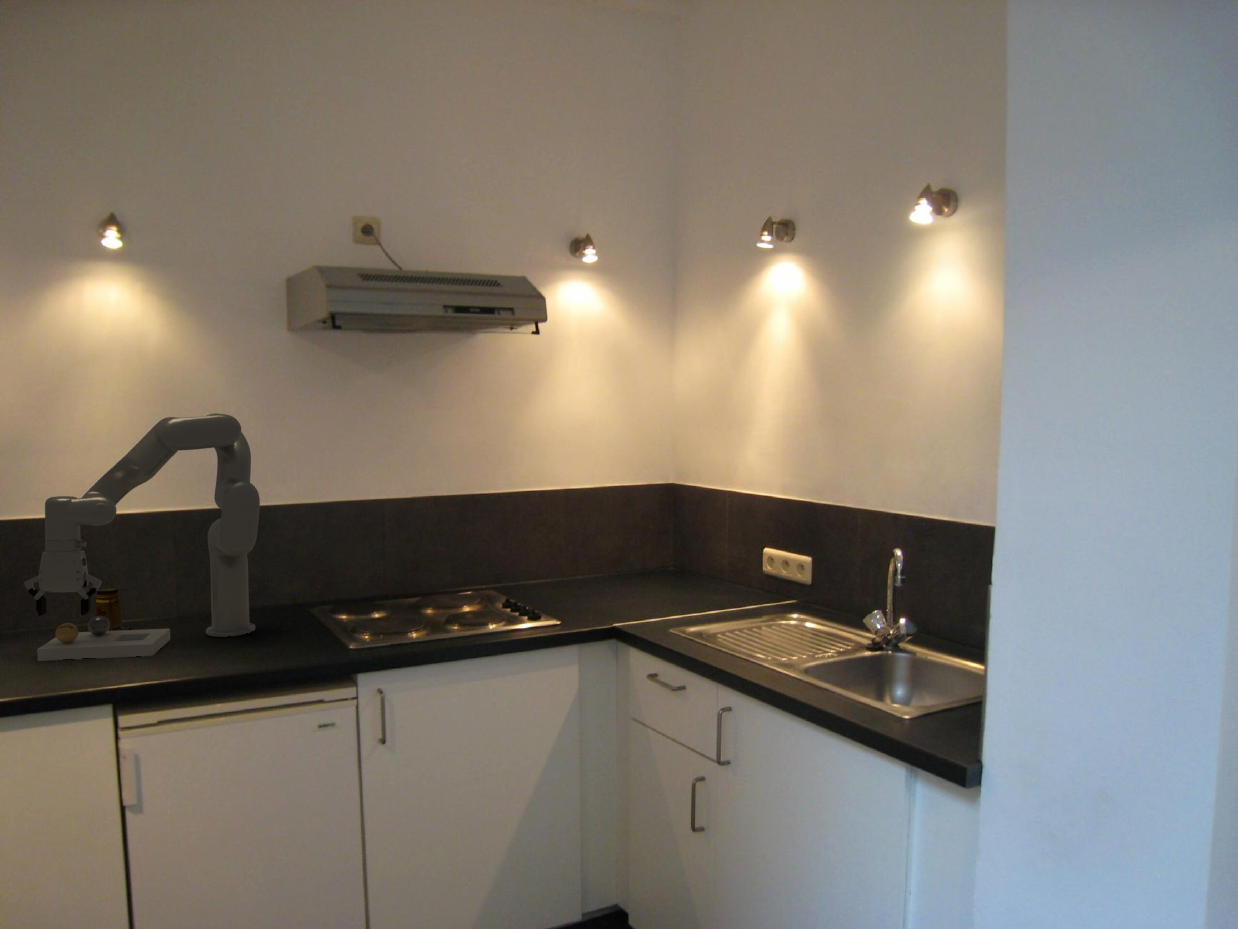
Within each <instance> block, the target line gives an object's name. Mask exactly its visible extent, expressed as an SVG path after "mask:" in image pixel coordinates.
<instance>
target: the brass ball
mask: <svg viewBox="0 0 1238 929" xmlns="http://www.w3.org/2000/svg"><path fill="white" fill-rule="evenodd" d="M79 632H80V631H79V628H78V626H77V625H76V624H75V623H71V622H64V623H62V624H60V625H59V626H57V629H56V630H55V638H57V639H58V640H59V641H60V642H62V643H70V642H73V641H74V640H75V639H76V638H77V637H78V634H79Z"/></svg>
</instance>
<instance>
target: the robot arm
mask: <svg viewBox="0 0 1238 929" xmlns="http://www.w3.org/2000/svg"><path fill="white" fill-rule="evenodd" d="M212 448H214V451H215V452H216V457H217V463H216V465H217V467H216V480H215V490H214V497H213V498H214V502H215V504H216V506H217V508H219V510H221V516H220V518H218V519H217V520H215V521H214V522H213V523H211V525H210V527H209V529H208V531H207V546H208V554H209V562H210V564H209V567H210V600H211V602H210V605H211V606H210V607H211V608H210V609H211V626H209V627H206V629H205V634H206V635H207V636H210V637H213V638H214V637H215V638H229V637H228V636H231V637H236V636H237V637H239V636H243V634H244V635H247V634H246V633H248V634H250V632H251V633H253V632H254V631H256V625H255V624H254V623H251V622H250V602H249V601H250V599H249V596H250V595H249V593H250V591H249V562H248V554H249V553H250V552H251V551H252V550H253V548H254V547H255V545H256V542H257V537H258V529H259V518H260V507H261V506H260V504H261V501H260V500H261V499H260V494H259V491H258V489H257V487H255V485H254V484H253V483H251V472H252V471H251V467H252V454H251V448H250V445H249V442H248V440H247V438H246V436H245V435H244V433H243V432H242V426H241V423H240V422H239V421H238V419H237V418H235V417H234V416H233V415H230V414H225V413H216V412H215V413H210V414H207V415H201V416H190V417H176V416H168V417H165V418H162V419H160V420H159V421H158V422H157V423H156V424H155V425H154V426H153V427H152V428H150V430H148V432H146V433H145V435H144V436H143V437H142V438H141V439H140V440H139V441H138V442H137V443H136V444H135V445H134V446H133V447H132V448H131V449H130V450H129V451H128V452H127V453H126V454H125V455H124V456H123V457H122V458H121V459H120V460H118V461H117V462H116V463H115V464H114V465H113V466H112V467H111V468H110V469H109V470H107V472H106V473H104V474H103V475H102V476H100V478H99V479H98V480H97V481H96V482H95V483H94V484H93V485H92V486H91V487H90V488H89V489H88V490H87V491H86V492H85V493H84V494H83V496H82V497H80V498H78V497H76V496H72V495H71V496H70V495H68V496H67V495H65V496H64V495H61V496H51V497H48V498H47V499H46V500H45V502H44V503H45V504H44V527H45V528H44V536H45V537H44V539H45V540H44V543H45V549H44V550H45V551H42V553H41V554H42V555H41V557H40V562H39V570H38V571H39V573H38V575H36V576H34V577H32V578H30V579H27V580H25V581H24V583H23V585H24V587H25V588H26V589H27V592H28V594H30V595H31V597H33V599H34V600H35V603H36V605H35V607H36V612H37V615H38V617H41V616H43V615H45V614H47V598H46V597H45V596H46V595H47V593H78V594H79V595H80V596H81V597H82V599H81V600H80V615H81V616H86V615H87V614H89V612H90V611H91V597H93V596H94V595H95V594H97V591H98V590H99V588H100V586H101V585H102V582H103V581H102V580H101V579H100V578H98V577H95V576H93V575H92V574H89V570H88V563H87V562H88V561H87V556H86V552H85V550H81V549H82V548H86V547H87V546H88V545H87V544H88V543H87V541H84V540H83V539H82V538H81V526H82V525H83V526H98V527H100V526H105V525H108V524H109V523H111V522H112V521H113V520H114V519H115V517H116V516H117V513H118V512H117V504H118V503H119V502H120V501H122V499H124V497H125V496H126V495H127V494H129V493H130V492H132V491H133V490H134V489H135V488H137V487H139V486H141V485H144V484H145V483H147V482H149V481H150V480H151V479H153V478H154V477H155V476H156V475H157V474H158V472H159V471H160V470H162V468H163V467H164V466H165V465H166V464H167V463H168V462H169V461H170V460H171V458H173V457H174V456H175V455H176V454H177V453H178V451H193V450H204V449H212ZM37 582H38V589H39V590H38V589H37V588H36V587H35V586H34V583H37ZM89 583H91V584H92V587H91V589H88V587H89ZM252 631H253V632H252Z"/></svg>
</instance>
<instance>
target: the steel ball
mask: <svg viewBox="0 0 1238 929" xmlns="http://www.w3.org/2000/svg"><path fill="white" fill-rule="evenodd" d="M109 627H110V622H109V620H108V619H107V618H106V617H104V616H96V615H95V616H93V617H92V618H90V620H89V621H88V623H87V630H88V632H91V633H92V634H94V635H102V634H104V633H106V632H107V631H108V630H109Z"/></svg>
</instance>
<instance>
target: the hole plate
mask: <svg viewBox="0 0 1238 929" xmlns="http://www.w3.org/2000/svg"><path fill="white" fill-rule="evenodd" d="M170 641H171V629H170V628H153V629H152V628H150V629H149V628H148V629H131V630H121V631H107V632H106V633H104V634H102V635H94V634H92V633H91V632H90V631H79V634H78V637H77V638H76V639H75V640H74V641H73V642H70V643H62V642H60V641H59V640H58V639H57V638H56V637H54V638H53V639H51V640H49V641H48V642H46V643H44V644H43V645H41V646H40V647H38V648H37V649H36V652H37V662H49V661H64V660H63V659H74V660H83V659H82V658H96V659H113V658H114V659H117V658H133V657H134V658H137V657H136V656H141V657H153V656H154V655H155V654H157V652H159V650H161V649H162V648H163V647H164V646H165V645H166V644H167V643H169V642H170ZM160 648H161V649H160Z"/></svg>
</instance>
